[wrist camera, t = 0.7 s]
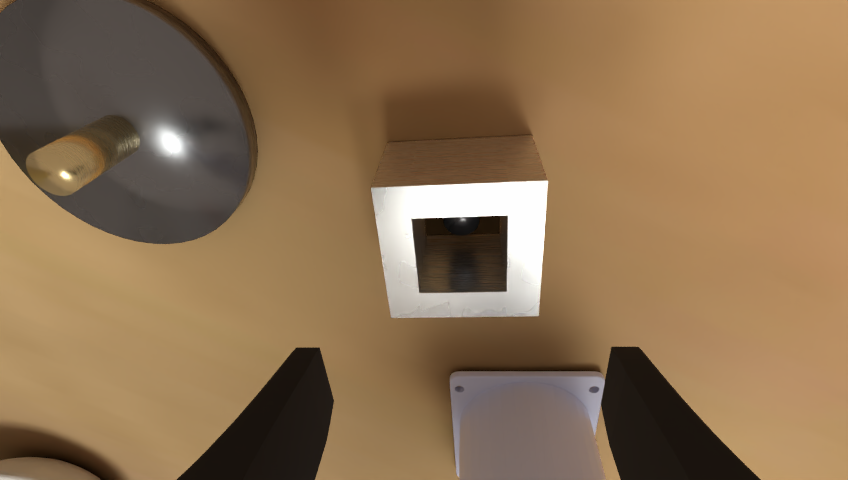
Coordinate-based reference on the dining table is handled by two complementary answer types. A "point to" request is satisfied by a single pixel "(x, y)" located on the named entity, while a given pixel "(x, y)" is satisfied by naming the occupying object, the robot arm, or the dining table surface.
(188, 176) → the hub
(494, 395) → the robot arm
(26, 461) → the spoon rest
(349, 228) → the dining table surface
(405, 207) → the collar
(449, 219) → the stand stub
